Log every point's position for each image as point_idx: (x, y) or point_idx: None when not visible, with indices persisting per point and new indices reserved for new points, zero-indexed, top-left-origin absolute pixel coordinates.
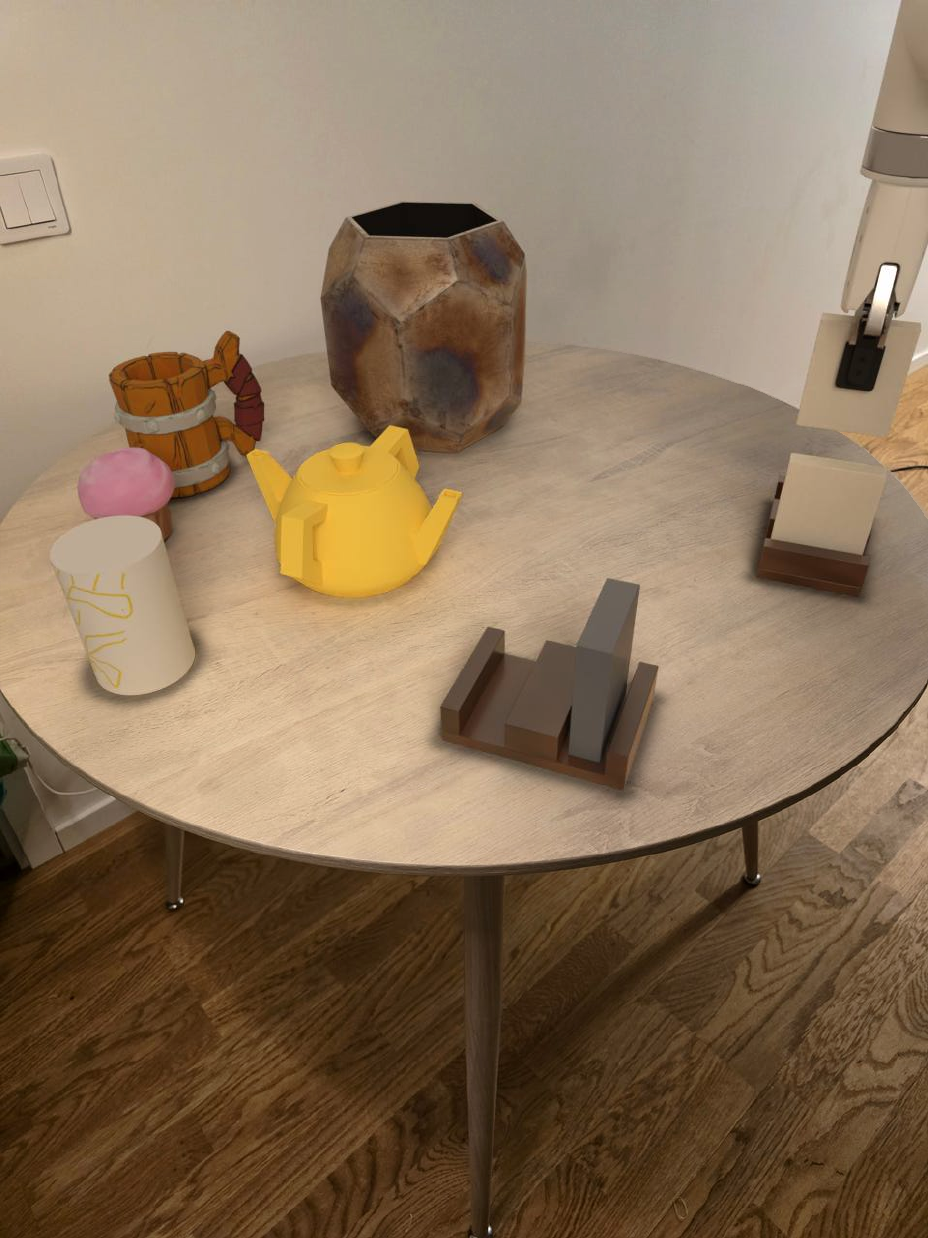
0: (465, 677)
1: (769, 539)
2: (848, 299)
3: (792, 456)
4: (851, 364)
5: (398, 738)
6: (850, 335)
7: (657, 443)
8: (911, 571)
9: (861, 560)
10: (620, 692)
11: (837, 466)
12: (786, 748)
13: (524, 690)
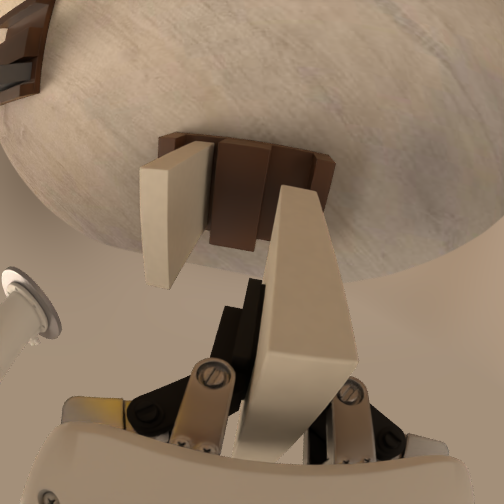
0: (9, 14)
1: (172, 142)
2: (40, 452)
3: (155, 172)
4: (217, 332)
5: (16, 5)
6: (252, 378)
7: (446, 52)
8: (223, 265)
9: None
10: (5, 86)
11: (146, 233)
12: (33, 170)
13: (3, 43)
